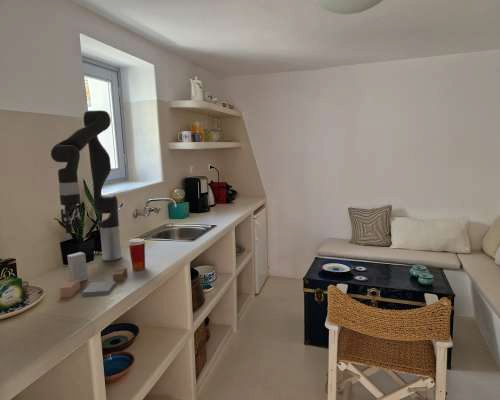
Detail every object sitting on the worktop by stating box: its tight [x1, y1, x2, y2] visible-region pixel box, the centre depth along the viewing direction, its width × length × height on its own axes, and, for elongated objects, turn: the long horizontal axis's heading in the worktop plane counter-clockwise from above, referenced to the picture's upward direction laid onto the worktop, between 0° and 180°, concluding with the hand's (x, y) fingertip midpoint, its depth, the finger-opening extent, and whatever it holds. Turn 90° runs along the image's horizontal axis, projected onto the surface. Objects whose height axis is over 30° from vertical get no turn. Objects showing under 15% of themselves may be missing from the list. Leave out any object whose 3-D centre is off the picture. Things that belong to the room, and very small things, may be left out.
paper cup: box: [127, 237, 146, 272], centre depth 161 cm, size 8×8×14 cm
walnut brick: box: [112, 266, 128, 284], centre depth 149 cm, size 8×4×4 cm, turn 7°
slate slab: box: [81, 280, 117, 297], centre depth 138 cm, size 10×10×2 cm
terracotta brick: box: [59, 279, 81, 298], centre depth 136 cm, size 8×4×4 cm, turn 5°
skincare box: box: [66, 251, 89, 283], centre depth 148 cm, size 6×4×12 cm
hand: (73, 230), depth 146 cm, fingers open, 8 cm apart
